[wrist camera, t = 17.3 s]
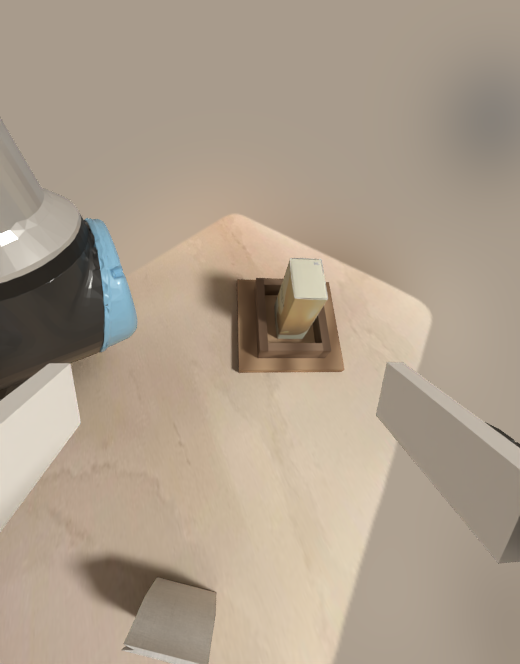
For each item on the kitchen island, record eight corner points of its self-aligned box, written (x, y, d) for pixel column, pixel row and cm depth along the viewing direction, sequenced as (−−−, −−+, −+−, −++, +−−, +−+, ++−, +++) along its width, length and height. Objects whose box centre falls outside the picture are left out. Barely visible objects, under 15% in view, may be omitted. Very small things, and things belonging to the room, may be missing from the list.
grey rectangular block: (157, 577, 32) (132, 615, 24) (216, 592, 32) (214, 636, 24) (143, 620, 31) (111, 679, 22) (206, 637, 31) (199, 702, 22)
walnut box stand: (238, 372, 44) (240, 362, 40) (237, 283, 51) (238, 268, 47) (341, 371, 46) (352, 362, 42) (326, 286, 53) (334, 271, 49)
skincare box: (273, 305, 48) (288, 255, 37) (299, 305, 49) (321, 256, 38) (276, 341, 45) (293, 298, 35) (303, 341, 46) (329, 298, 35)
